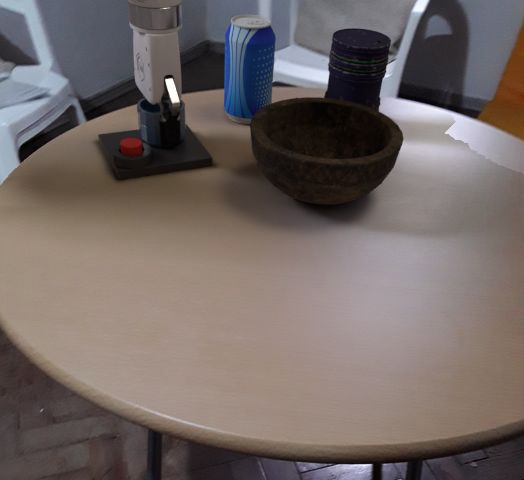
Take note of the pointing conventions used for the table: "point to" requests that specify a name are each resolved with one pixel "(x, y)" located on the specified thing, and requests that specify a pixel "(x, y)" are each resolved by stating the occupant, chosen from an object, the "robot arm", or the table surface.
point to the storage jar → (357, 66)
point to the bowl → (324, 148)
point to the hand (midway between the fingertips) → (162, 132)
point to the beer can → (248, 66)
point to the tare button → (131, 146)
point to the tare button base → (153, 155)
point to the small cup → (156, 121)
